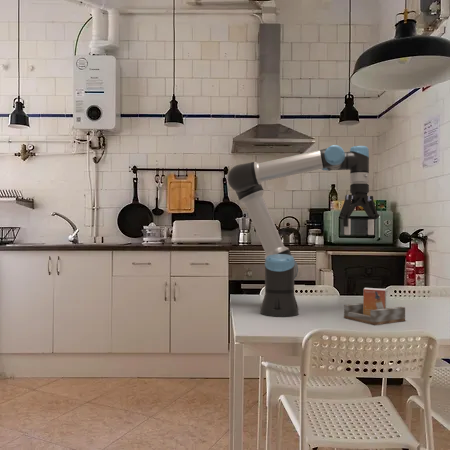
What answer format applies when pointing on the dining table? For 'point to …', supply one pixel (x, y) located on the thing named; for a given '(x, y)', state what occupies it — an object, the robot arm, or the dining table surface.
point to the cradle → (374, 314)
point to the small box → (373, 300)
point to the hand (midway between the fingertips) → (359, 234)
